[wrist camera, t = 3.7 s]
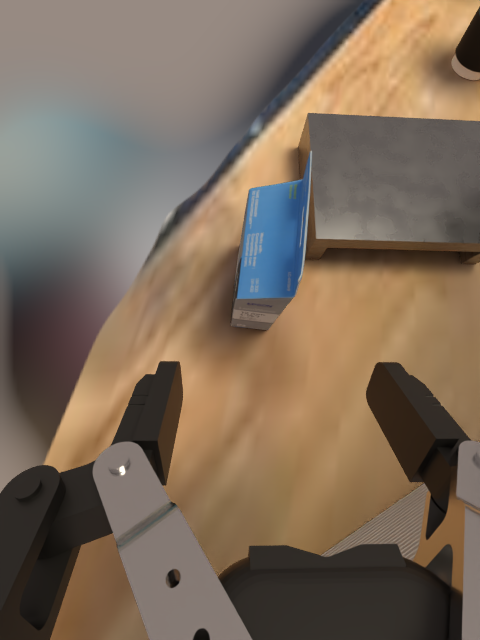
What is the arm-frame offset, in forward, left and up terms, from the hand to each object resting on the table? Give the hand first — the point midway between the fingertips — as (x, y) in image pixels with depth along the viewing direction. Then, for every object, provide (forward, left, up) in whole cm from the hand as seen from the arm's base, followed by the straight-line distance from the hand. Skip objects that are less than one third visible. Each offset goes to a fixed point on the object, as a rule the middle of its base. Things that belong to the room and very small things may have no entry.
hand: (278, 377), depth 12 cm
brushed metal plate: (-14, -19, -14) cm, 28 cm away
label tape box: (0, -9, -14) cm, 17 cm away
